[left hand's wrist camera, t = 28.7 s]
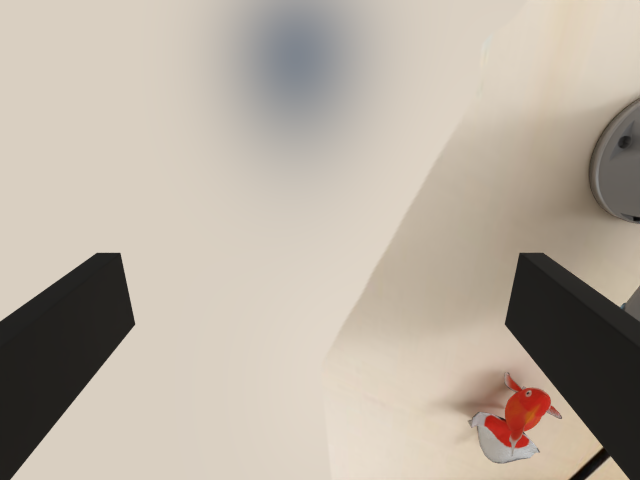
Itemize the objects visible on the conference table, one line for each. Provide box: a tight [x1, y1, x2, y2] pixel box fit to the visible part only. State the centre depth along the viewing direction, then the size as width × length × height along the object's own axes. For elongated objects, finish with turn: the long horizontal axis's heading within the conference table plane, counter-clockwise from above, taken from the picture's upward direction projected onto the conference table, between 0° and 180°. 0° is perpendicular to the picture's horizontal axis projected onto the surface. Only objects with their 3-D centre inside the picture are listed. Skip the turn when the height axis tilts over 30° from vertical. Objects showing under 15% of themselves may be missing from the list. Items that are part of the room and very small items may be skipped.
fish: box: [468, 373, 562, 463], centre depth 54 cm, size 11×16×10 cm
